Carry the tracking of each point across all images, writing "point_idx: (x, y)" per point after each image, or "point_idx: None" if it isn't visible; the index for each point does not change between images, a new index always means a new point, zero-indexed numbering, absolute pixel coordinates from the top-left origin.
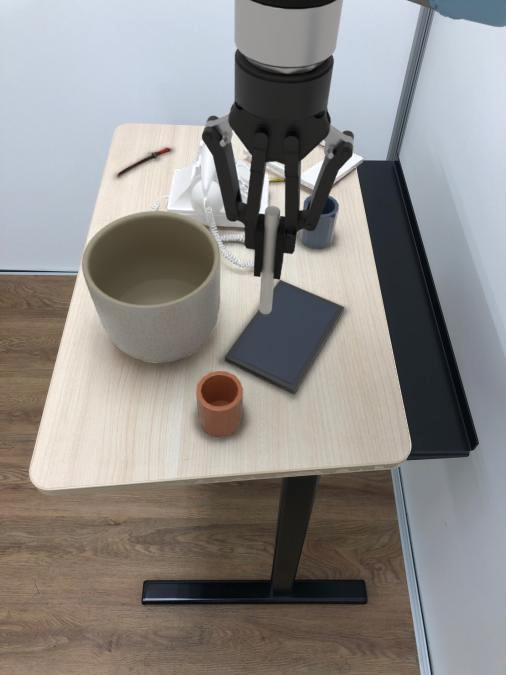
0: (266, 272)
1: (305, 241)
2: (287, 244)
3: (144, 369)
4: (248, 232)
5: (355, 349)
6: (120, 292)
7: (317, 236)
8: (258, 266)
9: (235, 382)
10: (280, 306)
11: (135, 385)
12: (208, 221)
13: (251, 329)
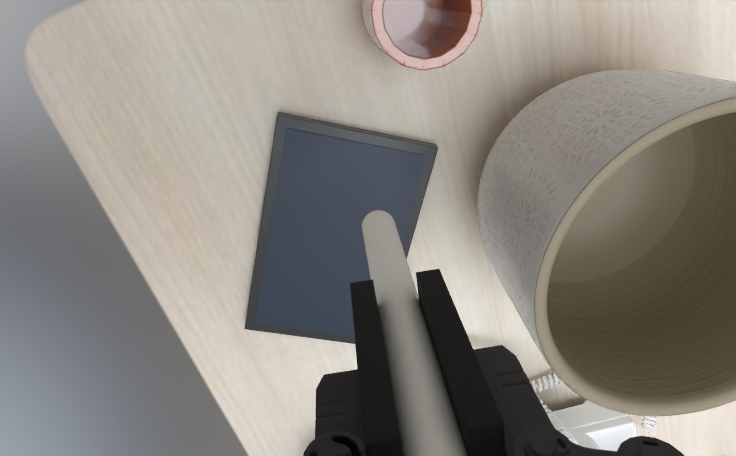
0: (400, 294)
1: None
2: (347, 406)
3: (587, 72)
4: (526, 408)
5: (195, 249)
6: (688, 216)
7: None
8: (433, 298)
9: (396, 46)
10: None
11: (597, 29)
12: (555, 420)
13: (403, 225)
